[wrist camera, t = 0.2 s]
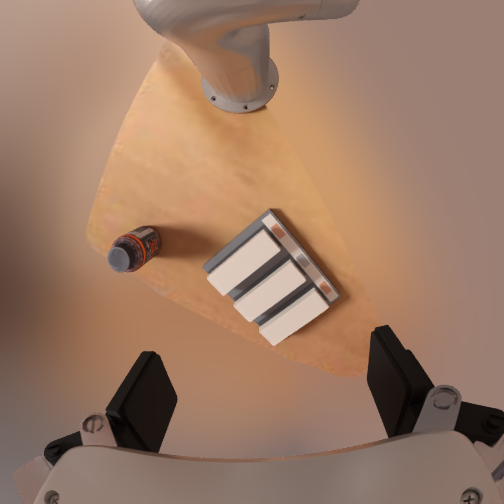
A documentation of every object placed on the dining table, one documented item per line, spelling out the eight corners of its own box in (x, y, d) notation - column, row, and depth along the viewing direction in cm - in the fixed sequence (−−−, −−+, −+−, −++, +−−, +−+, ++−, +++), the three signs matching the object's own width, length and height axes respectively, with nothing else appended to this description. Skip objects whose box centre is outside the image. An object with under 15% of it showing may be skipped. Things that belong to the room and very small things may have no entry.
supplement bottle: (162, 258, 48) (136, 282, 37) (134, 254, 48) (103, 276, 38) (162, 226, 46) (134, 242, 36) (133, 223, 47) (100, 239, 36)
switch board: (204, 264, 48) (201, 267, 46) (269, 208, 45) (269, 209, 43) (276, 338, 52) (276, 343, 50) (339, 293, 48) (341, 297, 47)
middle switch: (234, 302, 47) (233, 306, 45) (290, 259, 44) (290, 262, 42) (250, 317, 47) (249, 322, 46) (305, 276, 45) (306, 280, 43)
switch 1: (208, 274, 45) (206, 278, 44) (263, 228, 43) (263, 230, 41) (224, 291, 46) (223, 296, 45) (280, 247, 43) (280, 250, 42)
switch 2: (259, 327, 48) (259, 331, 46) (313, 287, 45) (315, 291, 43) (273, 340, 48) (273, 345, 47) (327, 303, 46) (329, 307, 44)
